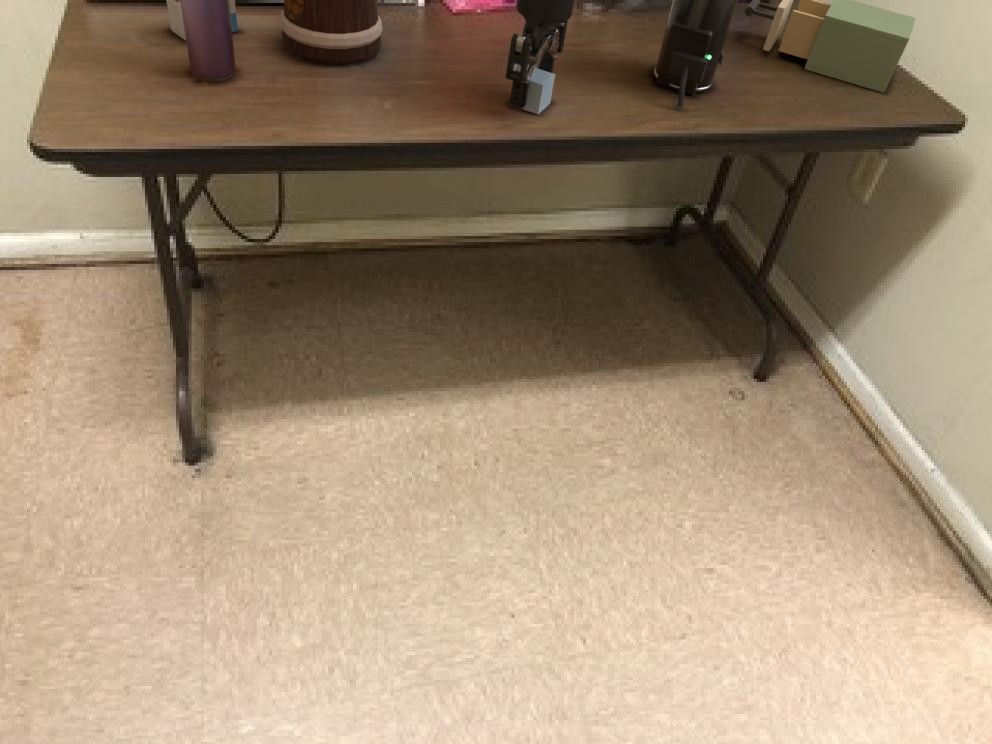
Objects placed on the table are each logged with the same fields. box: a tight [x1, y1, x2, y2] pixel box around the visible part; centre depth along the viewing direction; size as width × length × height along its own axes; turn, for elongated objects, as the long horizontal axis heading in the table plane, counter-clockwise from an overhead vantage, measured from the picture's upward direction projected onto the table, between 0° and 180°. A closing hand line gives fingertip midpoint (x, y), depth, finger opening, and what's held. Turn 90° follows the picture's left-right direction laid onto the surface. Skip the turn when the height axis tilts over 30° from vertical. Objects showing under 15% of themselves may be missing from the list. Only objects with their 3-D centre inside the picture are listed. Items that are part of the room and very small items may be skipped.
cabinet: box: [804, 0, 916, 94], centre depth 139 cm, size 14×12×9 cm
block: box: [511, 66, 556, 115], centre depth 116 cm, size 4×4×4 cm
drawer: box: [744, 0, 832, 60], centre depth 142 cm, size 18×10×7 cm, turn 64°
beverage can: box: [180, 0, 237, 83], centre depth 107 cm, size 6×6×15 cm
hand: (530, 95), depth 117 cm, fingers open, 8 cm apart
